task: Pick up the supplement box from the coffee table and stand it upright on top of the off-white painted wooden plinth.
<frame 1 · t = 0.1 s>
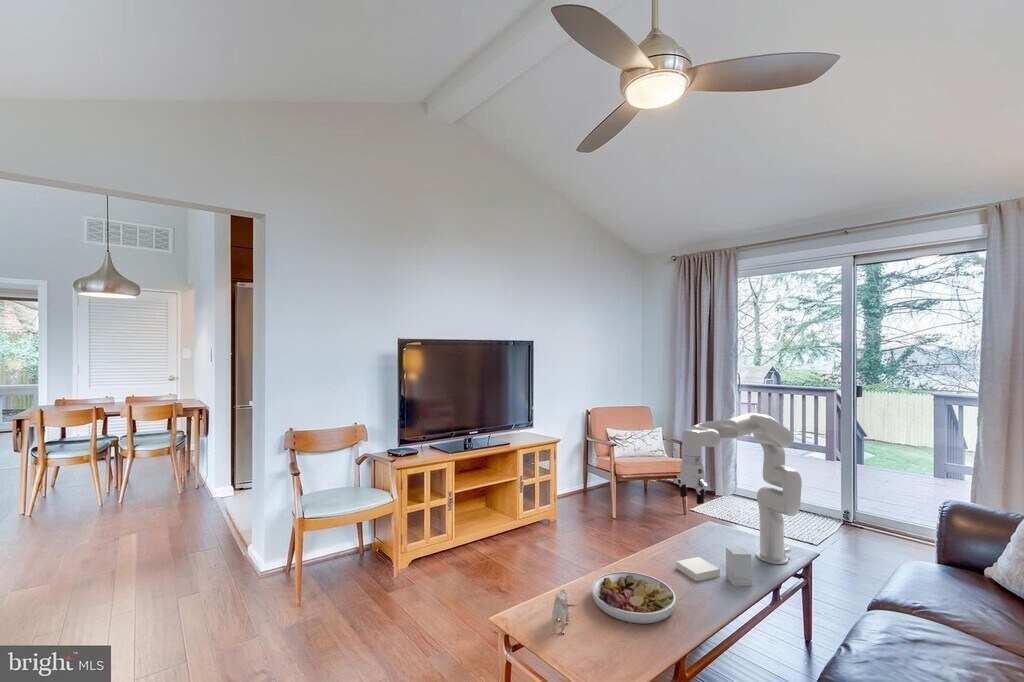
hand: (691, 500, 194), 31 cm above the table, tool pointing down, fingers open, 9 cm apart
plinth: (697, 572, 196), on the table
supplement box: (738, 582, 188), on the table
bowl: (632, 604, 172), on the table
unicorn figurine: (568, 630, 155), on the table
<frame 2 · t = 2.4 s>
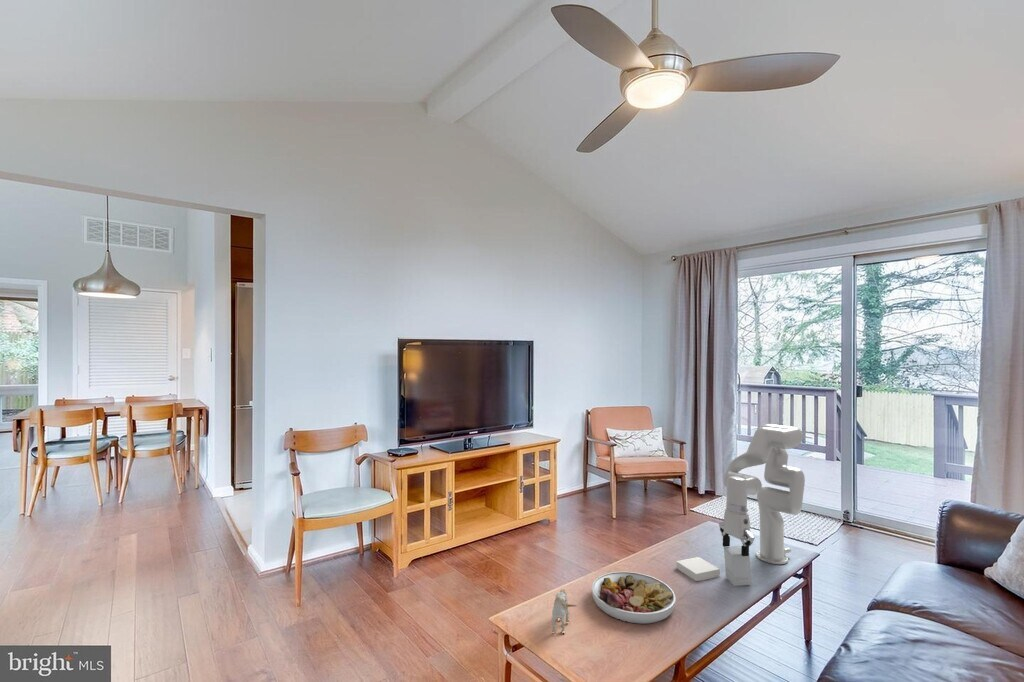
hand: (735, 550, 187), 13 cm above the table, tool pointing down, fingers open, 9 cm apart
supplement box: (738, 581, 188), on the table, touching gripper
everything else where it was.
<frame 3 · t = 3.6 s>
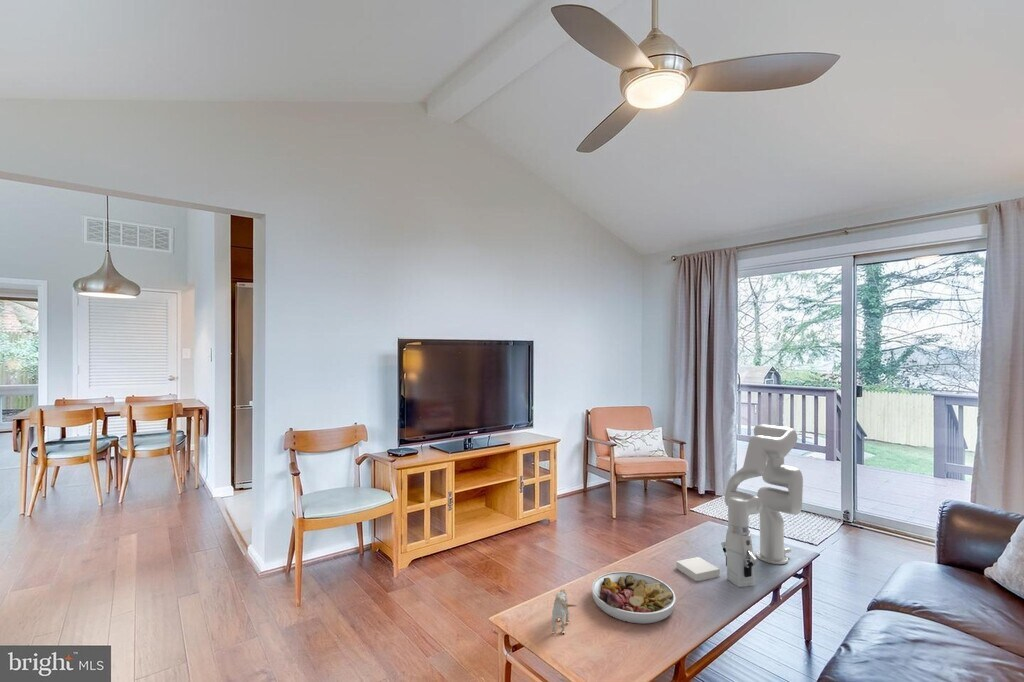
hand: (738, 571, 188), 4 cm above the table, tool pointing down, fingers open, 8 cm apart
supplement box: (740, 582, 187), on the table
everything else where it was.
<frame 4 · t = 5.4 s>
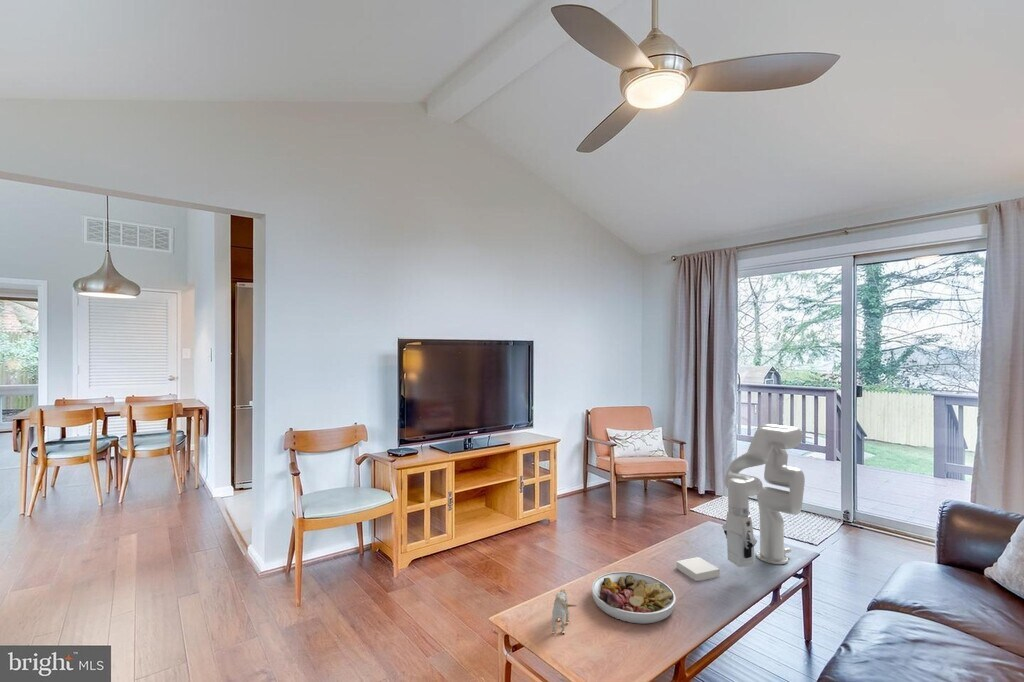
hand: (739, 552, 189), 11 cm above the table, tool pointing down, fingers closed on supplement box, 7 cm apart
supplement box: (740, 563, 189), point 7 cm above the table, touching gripper
everything else where it was.
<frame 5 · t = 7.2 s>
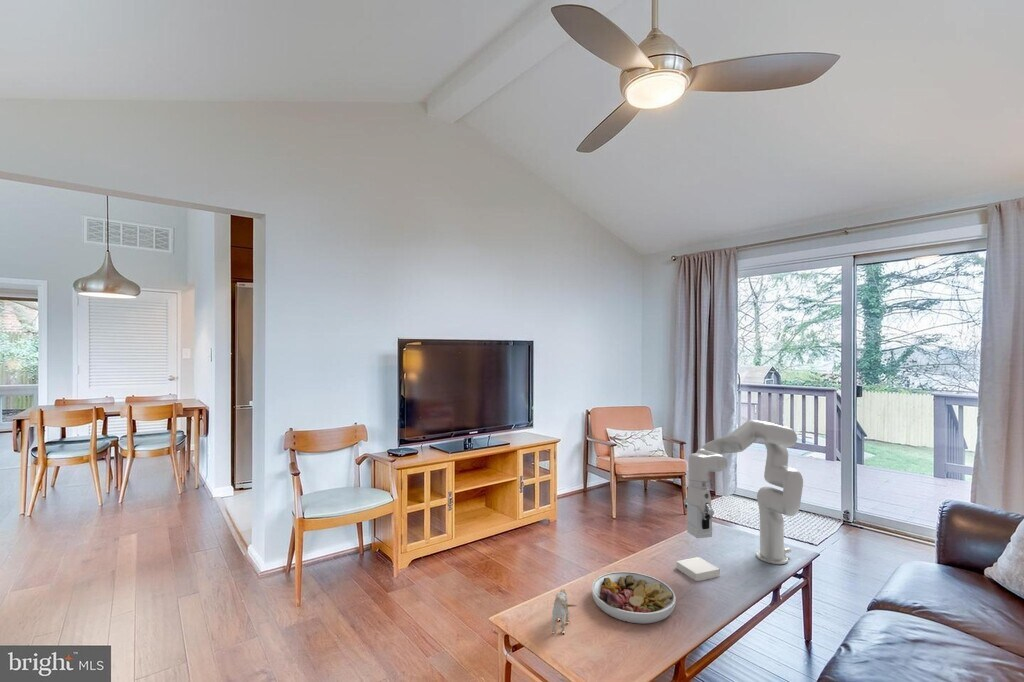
hand: (698, 524, 196), 20 cm above the table, tool pointing down, fingers closed on supplement box, 7 cm apart
supplement box: (699, 535, 196), point 16 cm above the table, touching gripper
everything else where it was.
when the fingers open (9 cm above the table, at t = 10.3 s): supplement box drops 2 cm, resting on plinth.
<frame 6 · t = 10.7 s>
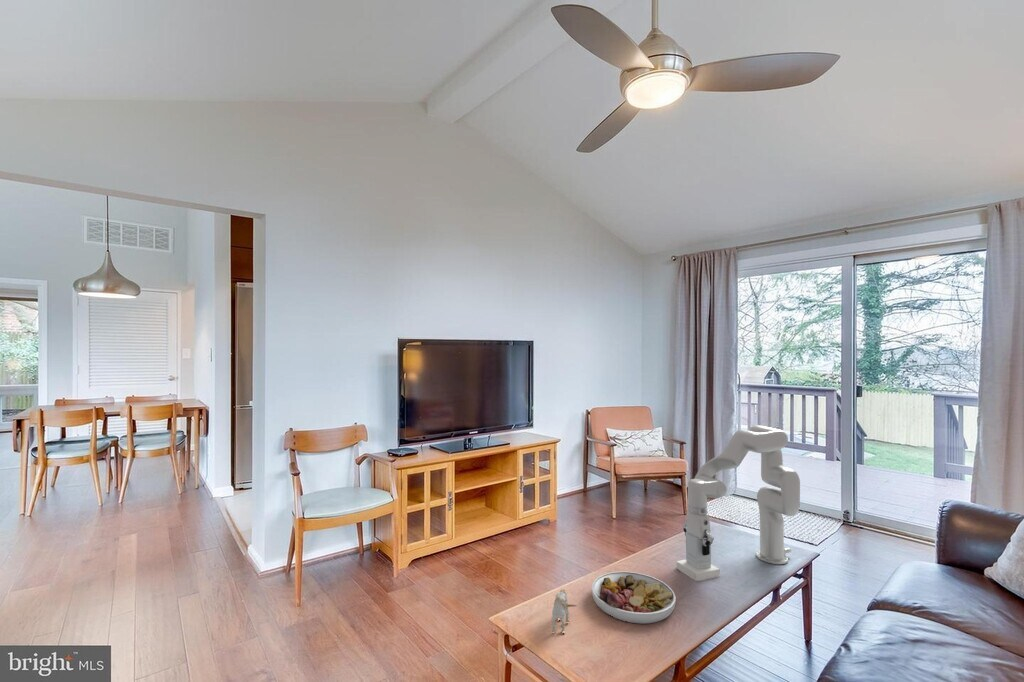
hand: (697, 550, 196), 9 cm above the table, tool pointing down, fingers open, 9 cm apart
supplement box: (698, 564, 196), point 3 cm above the table, touching plinth
everything else where it was.
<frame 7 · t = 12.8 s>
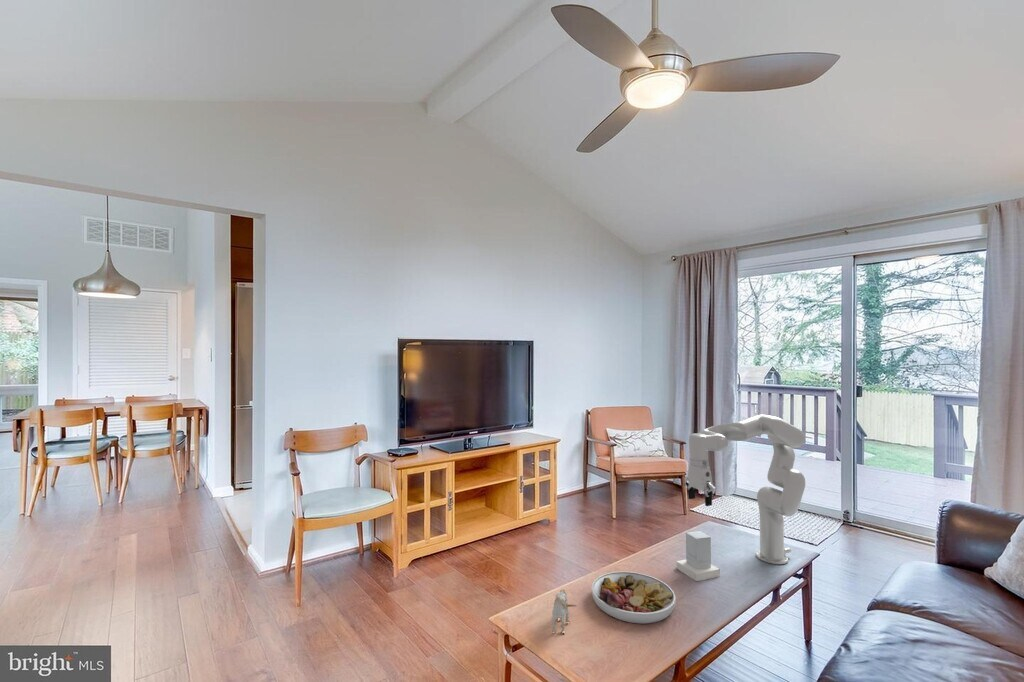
hand: (700, 502, 201), 28 cm above the table, tool pointing down, fingers open, 9 cm apart
nothing on the table moved.
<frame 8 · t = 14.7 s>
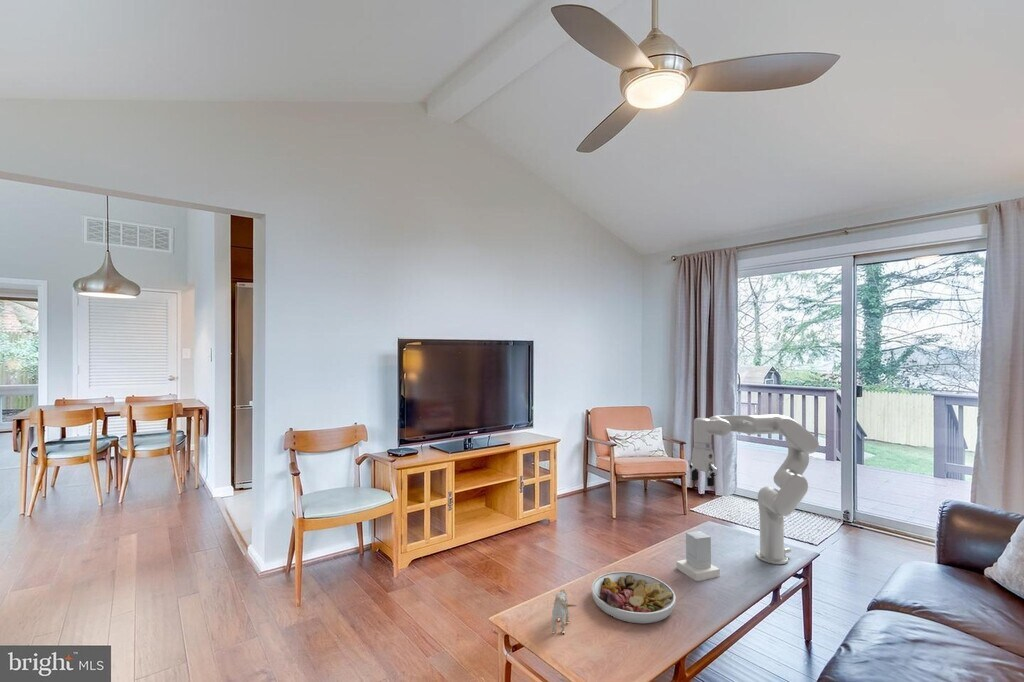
hand: (702, 483, 211), 33 cm above the table, tool pointing down, fingers open, 9 cm apart
nothing on the table moved.
at the end: supplement box inside the target area on the plinth (0.8 cm from its centre), point 2.8 cm above the plinth's base; supplement box tilted 0°; the gripper is holding nothing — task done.
